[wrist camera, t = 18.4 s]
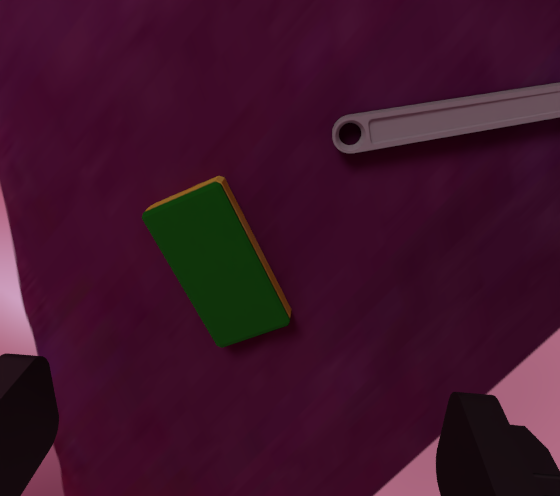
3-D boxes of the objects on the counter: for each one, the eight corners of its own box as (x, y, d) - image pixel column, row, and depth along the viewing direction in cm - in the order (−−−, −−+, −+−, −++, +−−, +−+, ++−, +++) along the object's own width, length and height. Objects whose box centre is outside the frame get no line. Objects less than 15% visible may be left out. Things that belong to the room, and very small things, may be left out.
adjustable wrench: (333, 153, 38) (333, 158, 36) (328, 64, 35) (328, 64, 34) (687, 125, 35) (705, 128, 33) (707, 26, 33) (728, 25, 31)
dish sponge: (223, 334, 46) (218, 349, 44) (148, 204, 41) (139, 214, 39) (293, 310, 44) (291, 324, 42) (223, 172, 40) (217, 181, 37)
